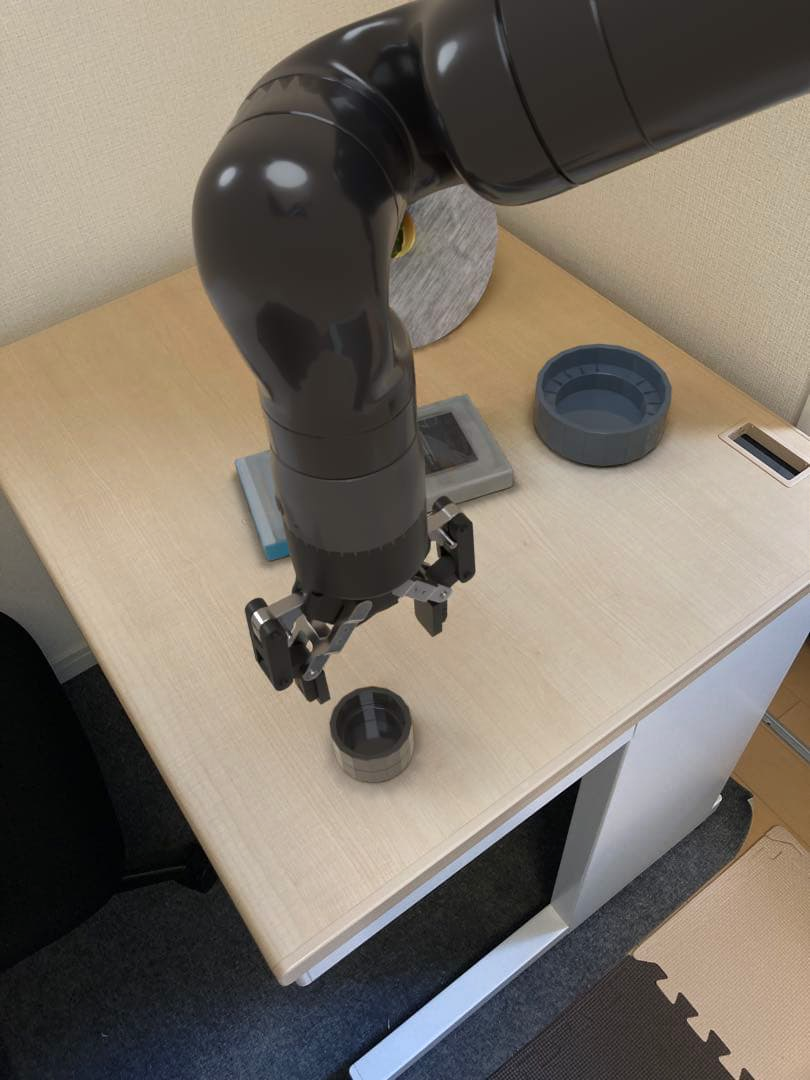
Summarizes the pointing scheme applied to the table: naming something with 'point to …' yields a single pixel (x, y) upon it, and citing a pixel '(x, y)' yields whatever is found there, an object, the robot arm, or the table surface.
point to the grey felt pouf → (442, 261)
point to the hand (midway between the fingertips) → (374, 657)
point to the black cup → (372, 733)
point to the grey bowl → (601, 404)
